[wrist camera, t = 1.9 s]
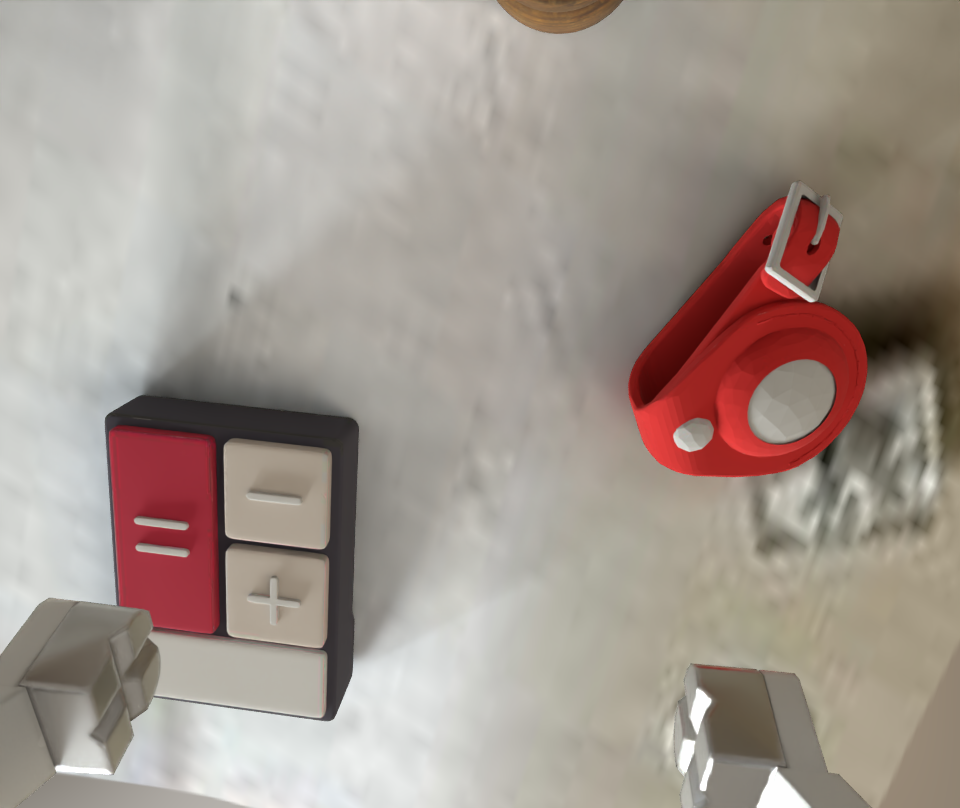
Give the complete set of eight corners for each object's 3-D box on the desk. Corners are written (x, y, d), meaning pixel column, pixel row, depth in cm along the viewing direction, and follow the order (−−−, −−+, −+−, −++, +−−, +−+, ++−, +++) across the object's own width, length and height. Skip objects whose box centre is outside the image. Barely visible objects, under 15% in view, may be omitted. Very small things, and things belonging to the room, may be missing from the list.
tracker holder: (903, 440, 35) (689, 537, 35) (842, 393, 39) (649, 480, 39) (869, 175, 29) (610, 292, 29) (801, 151, 33) (571, 254, 33)
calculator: (339, 445, 35) (330, 734, 40) (363, 414, 39) (352, 679, 44) (92, 417, 36) (112, 704, 41) (141, 389, 40) (154, 652, 45)
